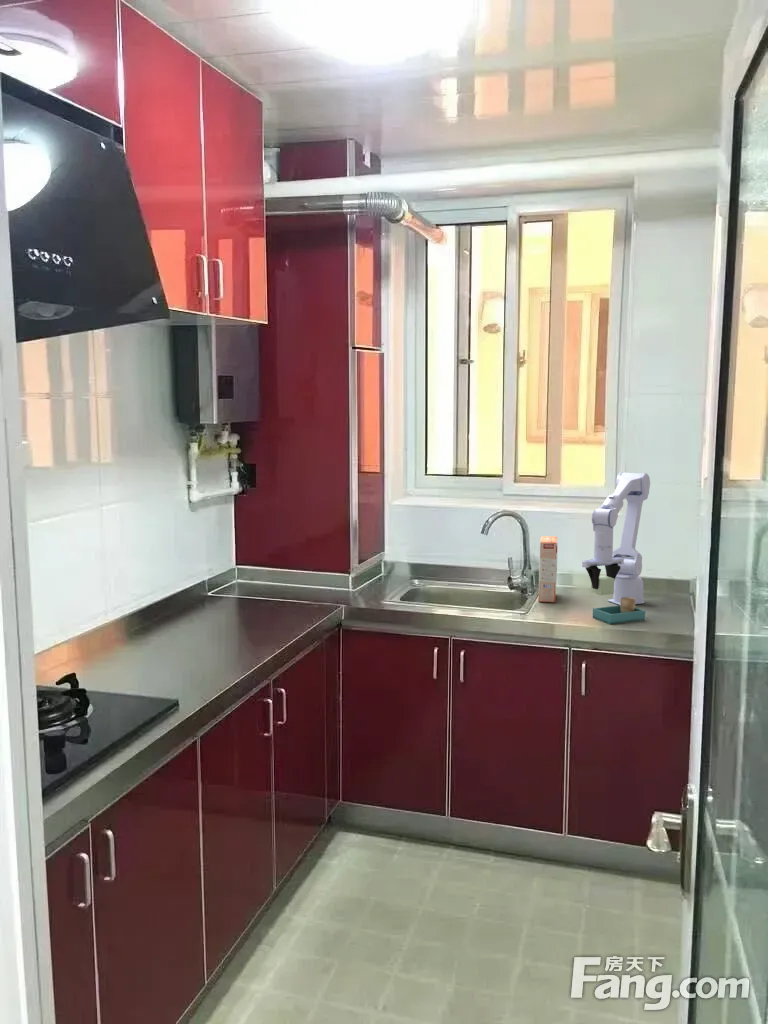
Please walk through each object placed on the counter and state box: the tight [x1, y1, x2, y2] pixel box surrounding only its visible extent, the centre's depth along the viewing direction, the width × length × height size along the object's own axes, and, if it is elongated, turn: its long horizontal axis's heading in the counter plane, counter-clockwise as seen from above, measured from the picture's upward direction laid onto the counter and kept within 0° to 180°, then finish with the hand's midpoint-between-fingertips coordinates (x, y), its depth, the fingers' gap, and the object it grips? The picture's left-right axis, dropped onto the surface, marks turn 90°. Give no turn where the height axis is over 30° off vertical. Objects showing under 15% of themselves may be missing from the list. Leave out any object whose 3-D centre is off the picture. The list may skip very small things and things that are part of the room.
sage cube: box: [590, 575, 614, 596], centre depth 280 cm, size 5×5×5 cm
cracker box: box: [538, 535, 558, 603], centre depth 302 cm, size 14×6×21 cm, turn 168°
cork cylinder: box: [620, 597, 636, 613], centre depth 275 cm, size 4×4×6 cm
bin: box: [592, 604, 646, 625], centre depth 274 cm, size 13×9×3 cm
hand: (602, 587), depth 280 cm, fingers closed on sage cube, 5 cm apart
